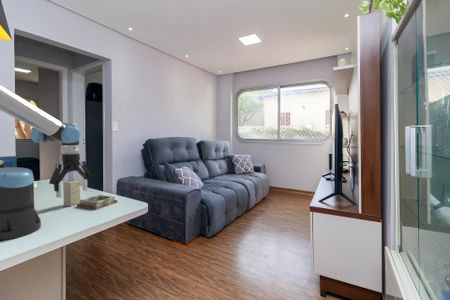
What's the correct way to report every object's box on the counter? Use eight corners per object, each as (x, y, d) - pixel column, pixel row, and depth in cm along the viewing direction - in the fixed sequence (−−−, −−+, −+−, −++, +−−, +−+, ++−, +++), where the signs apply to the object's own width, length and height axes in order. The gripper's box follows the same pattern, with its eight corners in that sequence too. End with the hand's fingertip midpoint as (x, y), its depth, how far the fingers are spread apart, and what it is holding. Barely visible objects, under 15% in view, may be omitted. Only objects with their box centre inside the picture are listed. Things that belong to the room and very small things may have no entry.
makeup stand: (96, 209, 105) (95, 203, 105) (77, 206, 109) (76, 200, 109) (117, 202, 117) (117, 196, 117) (99, 199, 122) (99, 194, 122)
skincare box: (70, 206, 109) (69, 182, 108) (63, 206, 110) (62, 182, 109) (81, 203, 115) (80, 180, 115) (74, 202, 116) (73, 180, 116)
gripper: (49, 155, 98) (51, 201, 100) (97, 151, 122) (99, 188, 123) (38, 155, 101) (40, 199, 102) (88, 151, 124) (89, 187, 126)
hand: (72, 193), depth 113 cm, fingers open, 13 cm apart
